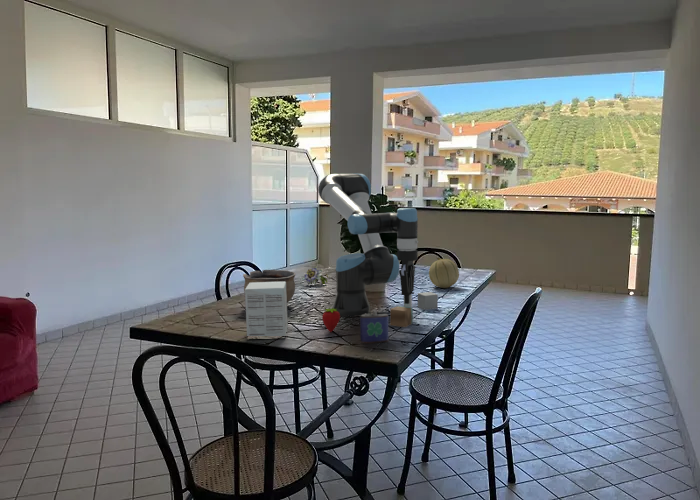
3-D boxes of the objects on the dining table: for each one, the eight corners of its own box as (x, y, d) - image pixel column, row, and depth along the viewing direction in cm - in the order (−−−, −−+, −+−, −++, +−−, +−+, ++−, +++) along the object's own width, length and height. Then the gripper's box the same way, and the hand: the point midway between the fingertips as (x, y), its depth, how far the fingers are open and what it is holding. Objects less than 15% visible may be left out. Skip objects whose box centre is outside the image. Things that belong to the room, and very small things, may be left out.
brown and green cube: (412, 323, 187) (405, 327, 182) (398, 321, 191) (390, 325, 186) (412, 307, 187) (404, 311, 182) (398, 305, 190) (390, 309, 185)
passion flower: (310, 296, 267) (297, 278, 267) (320, 288, 277) (306, 271, 277) (325, 285, 262) (311, 267, 262) (334, 278, 271) (320, 260, 271)
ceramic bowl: (268, 300, 233) (266, 267, 231) (306, 305, 222) (305, 270, 220) (233, 310, 214) (232, 275, 213) (274, 316, 203) (272, 278, 201)
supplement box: (251, 330, 183) (249, 282, 181) (288, 328, 184) (286, 280, 182) (246, 340, 170) (243, 289, 168) (286, 339, 171) (284, 287, 169)
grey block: (424, 310, 208) (424, 295, 207) (417, 307, 214) (417, 293, 213) (437, 308, 210) (437, 294, 209) (430, 305, 216) (430, 291, 215)
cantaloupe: (459, 290, 246) (459, 260, 244) (428, 290, 248) (428, 259, 247) (458, 285, 260) (458, 256, 259) (429, 284, 263) (428, 256, 261)
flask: (388, 340, 167) (387, 308, 166) (389, 342, 164) (389, 310, 163) (360, 341, 166) (359, 309, 165) (361, 344, 164) (360, 311, 162)
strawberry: (344, 330, 180) (343, 302, 179) (334, 335, 173) (333, 307, 172) (329, 328, 183) (328, 301, 181) (318, 334, 176) (318, 305, 175)
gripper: (412, 251, 183) (412, 316, 186) (421, 247, 195) (422, 308, 197) (392, 251, 186) (392, 314, 189) (403, 247, 198) (403, 307, 200)
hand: (407, 311), depth 193 cm, fingers closed
